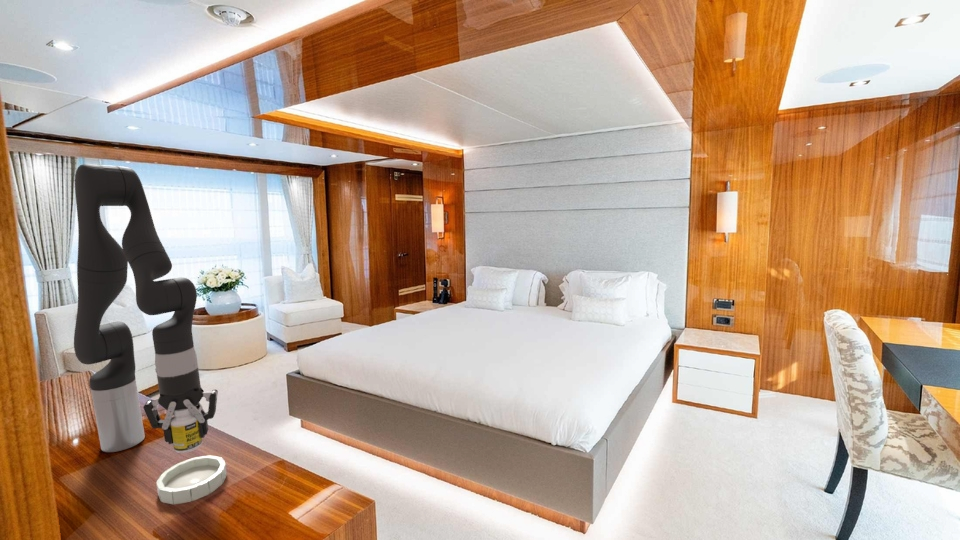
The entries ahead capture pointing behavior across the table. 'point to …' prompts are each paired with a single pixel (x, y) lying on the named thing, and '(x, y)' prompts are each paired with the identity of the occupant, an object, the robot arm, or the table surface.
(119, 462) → the table surface
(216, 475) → the sage bowl
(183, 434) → the supplement bottle
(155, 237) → the robot arm
